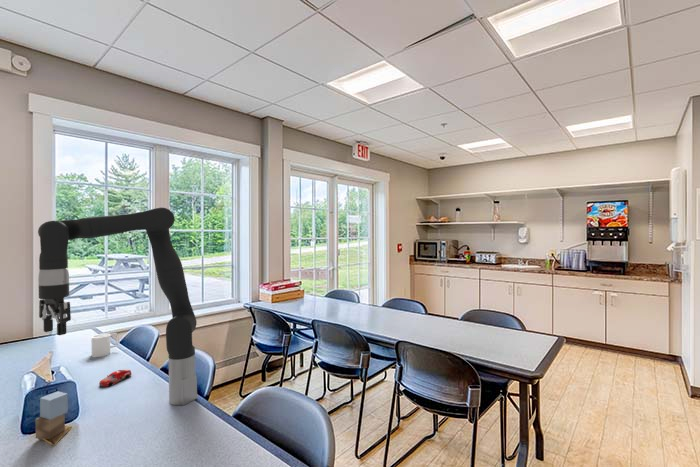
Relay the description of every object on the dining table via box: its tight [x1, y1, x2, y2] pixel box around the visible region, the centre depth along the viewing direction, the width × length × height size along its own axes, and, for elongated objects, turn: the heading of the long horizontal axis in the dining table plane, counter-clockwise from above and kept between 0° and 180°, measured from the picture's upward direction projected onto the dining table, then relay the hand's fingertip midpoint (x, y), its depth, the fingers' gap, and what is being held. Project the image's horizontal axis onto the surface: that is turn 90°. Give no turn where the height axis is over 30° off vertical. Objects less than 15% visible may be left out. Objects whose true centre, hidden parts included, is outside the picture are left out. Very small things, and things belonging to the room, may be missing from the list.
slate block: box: [39, 390, 69, 420], centre depth 112 cm, size 5×5×6 cm
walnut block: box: [34, 413, 66, 440], centre depth 111 cm, size 5×5×6 cm
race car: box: [99, 369, 132, 388], centre depth 153 cm, size 13×5×4 cm, turn 162°
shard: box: [41, 425, 73, 446], centre depth 111 cm, size 11×8×2 cm
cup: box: [90, 332, 119, 358], centre depth 187 cm, size 8×12×10 cm
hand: (54, 333), depth 112 cm, fingers open, 8 cm apart
